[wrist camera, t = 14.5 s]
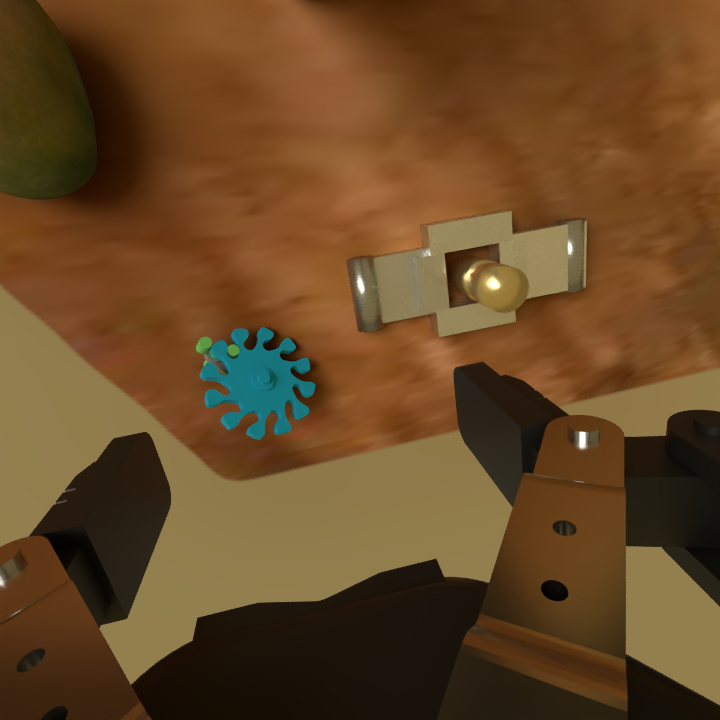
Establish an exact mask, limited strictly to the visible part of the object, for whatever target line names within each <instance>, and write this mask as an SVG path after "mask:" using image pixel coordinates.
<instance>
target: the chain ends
mask: <svg viewBox="0 0 720 720" xmlns="http://www.w3.org/2000/svg"><path fill="white" fill-rule="evenodd" d="M420 231H421V240H422V247H421V248H416V249H410V250H405V251H399V252H394V253H388V254H383V255H377V256H360V257H354V258H350V259H348V260H346V263H347V269H348V275H349V281H350V287H351V293H352V299H353V305H354V310H355V316H356V322H357V328H358V331H359V332H372V331H376V330H379V329H381V328H383V323H387V322H392V321H397V320H402V319H408V318H413V317H418V316H423V315H428V314H430V323H431V331H433V332H434V333H435V334H436V335H437V336H438V337H443V336H448V335H453V334H458V333H462V332H467V331H472V330H477V329H482V328H487V327H492V326H497V325H502V324H507V323H512V322H516V313H515V310H514V311H512V312H509V313H499V312H496V311H494V310H492V309H490V308H488V307H486V306H485V305H483V304H481V303H479V302H477V301H475V300H473V299H471V298H465V299H460V300H455V301H449V296H448V285H447V275H446V264H445V253H447V252H453V251H458V250H464V249H469V248H474V247H480V246H485V245H488V252H489V260H490V261H493V262H497V263H500V264H504V265H508V266H511V267H515V268H518V269H520V270H521V271H522V272H523V273H524V274H525V275H526V277H527V279H528V282H529V291H528V295H527V298H526V299H528V298H533V297H538V296H543V295H548V294H553V293H558V292H563V293H571V292H578V291H582V290H584V287H586V243H587V221H585V218H571V219H564V220H559V221H556V225H551V226H546V227H540V228H535V229H529V230H524V231H518V232H513V233H512V211H500V210H499V211H494V212H488V213H482V214H477V215H471V216H466V217H460V218H454V219H449V220H443V221H438V222H432V223H426V224H421V225H420Z"/></svg>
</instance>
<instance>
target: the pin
mask: <svg viewBox="0 0 720 720" xmlns="http://www.w3.org/2000/svg"><path fill="white" fill-rule="evenodd" d="M446 275H447V282H448V284H449V286H450V287H451V288H452V289H454V290H455V291H457V292H459V293H461V294H463V295H465V296H467V297H469V298H471V299H473V300H475V301H477V302H479V303H481V304H483V305H485V306H486V307H488V308H490V309H492V310H494V311H496V312H499V313H509V312H512V311H514V310H516V309H517V308H519V307H520V306H521V305H522V304H523V303H524V301H525V300H526V298H527V295H528V291H529V282H528V279H527V277H526V275H525V274H524V273H523V272H522V271H521V270H520V269H518V268H515V267H511V266H508V265H504V264H500V263H497V262H493V261H490V260H486V259H482V258H479V257H475V256H472V255H466V254H464V255H460V256H457V257H456V258H454V259H453V260H452V261H451V262H450V264H449V265H448V267H447V270H446Z"/></svg>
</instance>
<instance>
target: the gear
mask: <svg viewBox="0 0 720 720" xmlns="http://www.w3.org/2000/svg"><path fill="white" fill-rule="evenodd" d="M273 335H274V333H273V332H272V331H271V330H269V329H267V328H264V327H262V328H261V329H260V330H259V331H258V333H257V344H256V346H255V348H254V349H253V350H247V349H246V348H245V347H244V342H245V340H246V339H247V338H248V336H249V333H248V331H247V330H246V329H234V331H233V332H232V334H231V338H232V340H233V341H234V343H235V345H234V344H232V345H229V346H227V343H226V342H225V341H224V340H221V341H218V342H216V343H215V344H212V340H211V339H210V338H208V337H202V338H201V339H200V340H199V342H198V344H197V346H196V350H197V352H199V353H200V354H204V357H205V362H204V364H203V365H204V368H203V369H202V371H201V374H200V378H201V379H203V380H206V381H207V380H211V381H216V382H219V383H221V384H222V385H224V386H225V387H226V388H227V389H228V390H229V395H222V394H221V393H219V392H218V391H217V390H213V389H211V390H208V391H207V392H206V393H205V403H206V407H208V408H213V407H215V406H217V405H218V404H221V403H235V404H238V405H239V406H240V412H239V413H234V412H228V413H226V414H225V415H224V416H223V417H222V418H221V422H222V423H223V425H224V426H225V427H226V428H227V429H228V430H232V429H233V428H235V427H236V426H237V425H238V423H239V421H240V419H241V418H242V417H243V416H245V415H247V414H249V413H255V414H257V416H258V418H259V420H258V422H257V423H255V424H253V425H251V426H250V427H249V428H248V429H247V435H248V436H250V437H252V438H254V439H258V440H259V439H260V438H262V437H263V436H264V434H265V421H266V418H267V416H268V415H269V413H270V412H274V413H275V414H276V415H277V417H278V420H277V422H276V423H275V425H274V427H273V431H274V433H275V434H277V435H281V434H285V433H288V432H290V431H291V425H290V423H289V422H288V420H287V418H286V415H285V403H286V402H288V403H290V404H291V405H292V407H293V411H292V415H293V417H294V419H296V420H300V419H301V418H303V417H304V416H306V415H307V414H308V413H309V412H310V411H309V408H308V407H307V406H306V405H304V404H302V403H301V402H300V401H299V400H298V399H297V398H296V396H295V394H294V392H293V389H292V388H293V386H295V387H297V388H298V389H299V391H300V393H301V395H302V396H303V397H305V398H309V397H310V396H312V395H313V393H314V390H315V386H316V385H315V384H314V383H312V382H304V381H301V380H299V379H297V378H296V377H295V376H293V375H292V374H291V371H290V369H295V370H296V371H297V372H299V373H300V374H305V373H307V372H308V371H309V370H310V364H309V360H308V359H307V358H301V359H300V360H298V361H294V362H291V361H285V360H283V359H281V357H280V353H283V354H290V353H292V352H293V351H294V350H295V349H296V346H295V344H294V343H293V341H292V340H291V339H290V338H286V339H284V340H283V342H282V343H281V344H280V346H279V348H277V349H275V350H272V351H267V350H265V349H264V347H263V344H264V343H267V342H269V341H270V340H271V339H272V337H273ZM236 356H237V358H236ZM235 358H236V359H235ZM218 370H219V371H220V372H221V373H223V374H224V375H221V374H220V373H219V372H218Z"/></svg>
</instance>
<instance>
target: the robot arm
mask: <svg viewBox="0 0 720 720" xmlns="http://www.w3.org/2000/svg"><path fill="white" fill-rule="evenodd" d="M454 387H455V397H456V408H457V419H458V425H459V429H460V433H461V436H462V438H463V440H464V442H465V444H466V445H467V446H468V448H469V449H470V450H471V452H472V453H473V454H474V456H475V457H476V458H477V460H478V461H479V463H480V464H481V465H482V467H483V468H484V469H485V471H486V472H487V473H488V475H489V476H490V477H491V479H492V480H493V481H494V483H495V484H496V485H497V487H498V488H499V489H500V491H501V492H502V494H503V495H504V496H505V498H506V499H507V500H508V502H509V503H510V504H511V506H512V507H513V509H512V512H511V515H510V518H509V522H508V525H507V528H506V531H505V534H504V537H503V541H502V544H501V547H500V550H499V553H498V557H497V560H496V563H495V566H494V569H493V573H492V576H491V579H490V582H489V583H486V582H483V581H479V580H474V579H469V578H460V577H444V576H443V574H442V571H441V569H440V567H439V564H438V562H437V560H436V559H433V560H430V561H425V562H421V563H417V564H413V565H409V566H405V567H401V568H397V569H393V570H389V571H385V572H381V573H378V574H376V575H374V576H372V577H370V578H368V579H366V580H364V581H362V582H360V583H357V584H355V585H353V586H351V587H349V588H348V589H345V590H343V591H341V592H339V593H337V594H335V595H333V596H331V597H329V598H326V599H324V600H321V601H311V602H269V603H256V604H252V605H247V606H243V607H239V608H235V609H231V610H227V611H223V612H219V613H215V614H211V615H207V616H203V617H199V618H197V623H196V627H195V632H194V636H193V641H191V642H189V643H187V644H185V645H183V646H181V647H180V648H178V649H177V650H175V651H173V652H171V653H170V654H168V655H167V656H165V657H164V658H163V659H161V660H160V661H158V662H157V663H155V665H153V666H152V667H151V668H149V669H148V670H147V671H146V672H145V673H143V674H142V675H141V676H140V677H139V678H138V679H137V680H136V681H135V682H134V683H132V684H130V682H129V681H128V679H127V677H126V675H125V673H124V671H123V670H122V668H121V666H120V664H119V663H118V661H117V659H116V657H115V656H114V654H113V652H112V650H111V648H110V647H109V645H108V643H107V641H106V639H105V638H104V636H103V634H102V632H101V631H100V629H99V628H100V626H101V625H103V624H108V623H112V622H116V621H120V620H124V619H127V618H128V615H129V612H130V610H131V607H132V605H133V602H134V600H135V597H136V594H137V592H138V589H139V587H140V584H141V582H142V579H143V576H144V574H145V571H146V569H147V566H148V563H149V561H150V558H151V556H152V553H153V550H154V548H155V545H156V543H157V540H158V538H159V535H160V532H161V530H162V527H163V524H164V522H165V520H166V517H167V514H168V512H169V509H170V505H171V492H170V486H169V483H168V480H167V477H166V475H165V472H164V469H163V467H162V464H161V461H160V458H159V456H158V453H157V450H156V448H155V445H154V442H153V440H152V438H151V436H150V435H149V434H148V433H147V432H142V433H138V434H133V435H128V436H124V437H118V438H114V439H113V440H112V441H111V442H110V443H109V445H108V446H107V447H106V449H105V450H104V452H103V453H102V454H101V455H100V457H99V458H98V460H97V461H96V462H94V463H92V464H91V465H90V466H88V467H87V468H86V469H84V470H83V471H82V472H80V473H79V474H78V475H77V476H76V477H75V478H74V479H73V480H72V482H71V483H70V484H69V486H68V487H67V488H66V489H65V493H62V495H61V496H60V497H59V498H58V500H57V501H56V505H53V506H52V507H51V509H50V510H49V511H48V513H47V514H46V515H45V516H44V518H43V519H42V520H41V522H40V523H39V524H38V525H37V527H36V528H35V529H34V531H33V532H32V533H31V535H30V536H29V537H26V538H21V539H18V540H15V541H12V542H10V543H7V544H5V545H3V546H1V547H0V720H720V705H718V704H716V703H715V702H713V701H711V700H709V699H707V698H705V697H704V696H702V695H700V694H698V693H696V692H694V691H693V690H691V689H689V688H687V687H685V686H684V685H681V684H680V683H678V682H676V681H674V680H673V679H671V678H669V677H667V676H665V675H663V674H662V673H659V672H658V671H656V670H654V669H652V668H651V667H649V666H647V665H645V664H643V663H641V662H640V661H638V660H636V659H634V658H632V657H631V656H629V655H627V654H626V546H644V547H662V548H663V549H664V551H665V552H666V553H667V554H668V555H669V556H670V557H671V558H672V559H673V560H674V561H675V562H676V563H677V564H678V565H679V566H680V567H681V568H682V569H683V570H684V571H685V572H686V573H687V574H688V575H689V576H690V577H691V578H692V579H693V580H694V581H695V582H696V583H697V584H698V585H699V586H700V587H701V588H702V589H703V590H704V591H705V592H706V593H707V594H708V595H709V596H710V597H711V598H712V599H713V600H714V601H715V602H716V603H717V604H718V605H719V606H720V412H717V411H710V410H688V411H683V412H678V413H676V414H674V415H672V416H670V418H669V419H668V421H667V431H666V436H648V437H624V433H623V431H622V430H621V429H620V427H618V426H617V425H616V424H614V423H612V422H610V421H608V420H605V419H602V418H598V417H593V416H587V415H571V416H570V415H568V414H567V413H566V412H564V411H563V410H562V409H560V408H559V407H558V406H556V405H555V404H554V403H552V402H551V401H550V400H548V399H547V398H544V396H543V395H542V394H540V393H539V392H538V391H535V390H534V388H532V387H531V386H530V385H528V384H527V383H526V382H524V381H523V380H520V379H517V378H514V377H511V376H508V375H503V376H500V375H499V374H498V373H496V372H495V371H494V370H493V369H492V368H490V367H489V366H488V365H487V364H485V363H484V362H479V363H475V364H470V365H465V366H460V367H456V368H455V369H454Z"/></svg>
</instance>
